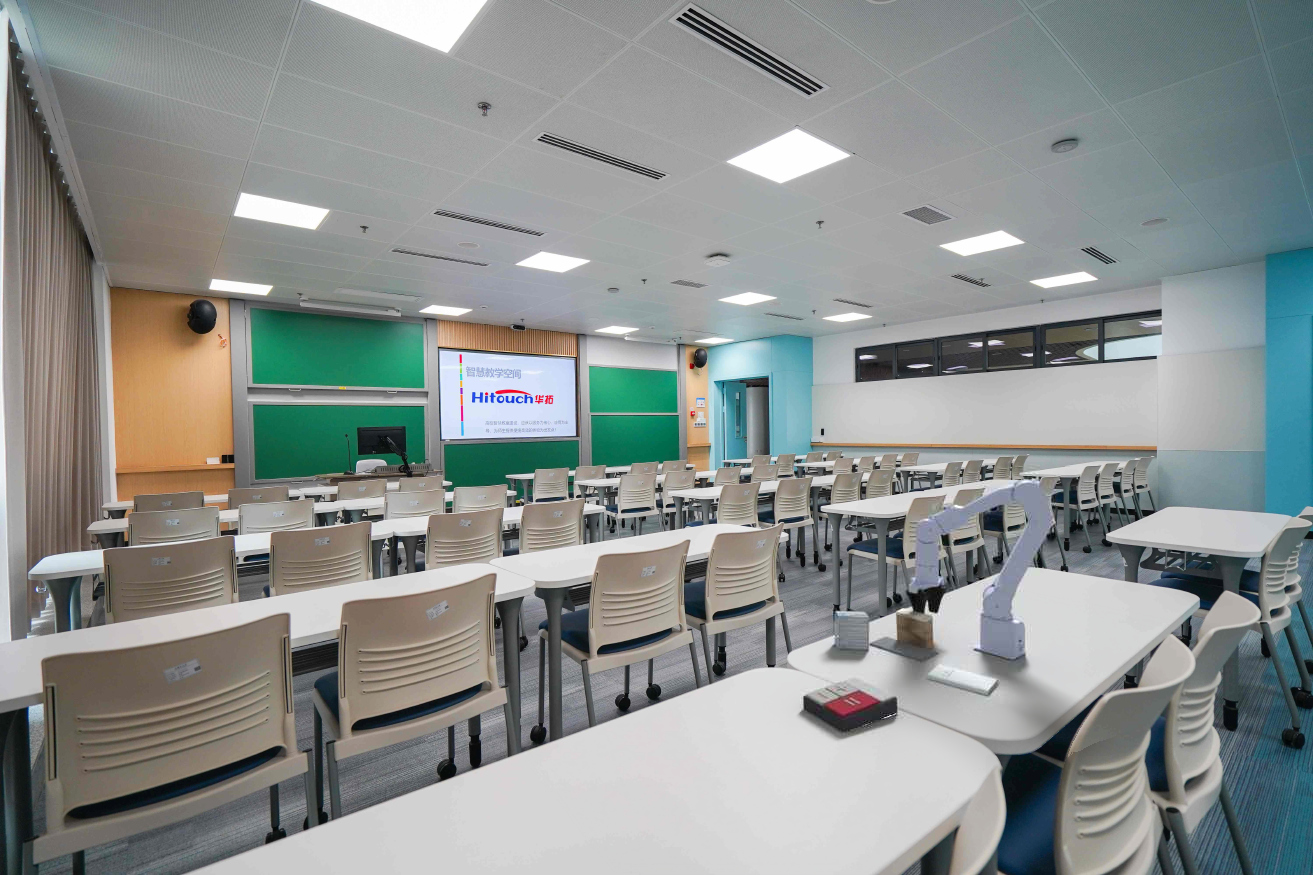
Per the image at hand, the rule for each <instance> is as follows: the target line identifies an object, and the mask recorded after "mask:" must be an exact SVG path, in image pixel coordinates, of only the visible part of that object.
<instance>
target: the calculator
mask: <svg viewBox="0 0 1313 875" xmlns="http://www.w3.org/2000/svg"><path fill="white" fill-rule="evenodd" d="M802 703H803V705H802V707H803V710H805V711H806V712H808V714H811V715H813V717H816V718H818V719H819V720H821V721H822V722H824V723H826V724H828V725H829V726H831V727H832V728H834V729H836V730H837V729H838V731H839V732H840V733H843V732H845V733H848V732H851V731H853V730H852V729H854V730H856V729H855V728H857V729H859V728H858V727H860V728H862V727H861V726H863V725H865V724H868V723H871V722H873V723H875V722H874V721H876V720H878V721H880V720H882V719H881V718H884V717H887V716H889V715H893V714H895V713H897V714H898V697H896V696H894V695H893V694H891V693H889V692H887V691H885V690H883V689H881V688H879V687H876V686H874V685H873V684H871V683H868V682H867V681H864V680H862V679H861V678H858V677H853V678H850V679H847V680H844V681H838V682H836V683H832V684H831V685H827V686H825V687H824V688H819V689H818V688H817V690H813V691H810V692H808V693H806V694H805V695H803V696H802ZM879 719H880V720H879ZM876 722H877V721H876ZM871 724H872V723H871ZM868 725H869V724H868ZM863 727H864V726H863ZM850 730H851V731H850ZM847 731H848V732H847Z"/></svg>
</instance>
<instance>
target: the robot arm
mask: <svg viewBox="0 0 1313 875" xmlns="http://www.w3.org/2000/svg"><path fill="white" fill-rule="evenodd" d="M1014 502H1015V503H1016V504H1017V505H1018V507H1020V508H1021V509H1022V510H1023V512H1024V514H1025V516H1026V518H1027V523H1026V525H1024V526H1025V527H1024V528H1023V530H1022V532H1021V534H1020V535H1019V537H1018V539H1017V540H1016V541H1017V542H1016V543H1015V544H1014V546H1013V549H1012V550H1011V552H1010V554H1009V555H1008V557H1007V559H1006V561H1005V563H1004V565H1003V566H1002V568H1001V571H1000V572H999V574H998V575H997V577H996V578H995V579H994V581H993V583H991V584H990V585H989V586H987V587H986V588H984V590H983V593H982V598H983V599H982V608H983V609H981V610H980V619H979V620H980V626H979V627H980V628H979V630H980V633H979V634H980V635H979V640H980V641H979V643H977V644H976V645H973V649H974V650H977V651H980V652H984V653H988V654H992V655H994V656H998V657H1002V658H1005V659H1009V660H1011V661H1012V660H1016V659H1017V658H1019V657H1021V656H1022V655H1025V654H1026V653H1027V651H1026V625H1025V624H1024V622H1023V621H1021V620H1018V619H1016V618H1015V617H1014V614H1013V613H1012V610H1013V604H1012V602H1013V599H1014V597H1015V596H1016V592H1017V589H1018V587H1019V586H1020V583H1021V581H1022V580H1023V578H1024V576H1025V574H1026V572H1028V569H1029V567H1030V565H1031V564H1032V562H1033V561H1034V558H1035V557H1036V554H1037V553H1038V551H1039V549H1040V547H1041V546H1042V544H1043V543H1044V540H1045V538H1046V537H1047V535H1048V534H1049V532H1050V529H1051V527H1052V526H1053V517H1052V514H1051V513H1052V512H1051V508H1050V503H1049V498H1048V497H1047V494H1046V493H1045V492H1044V490H1043V488H1042V487H1041V486H1040V485H1039V484H1038V482H1036V481H1034V480H1032V479H1026V478H1025V479H1021V480H1018V481H1016V482H1015V483H1010V484H1006V485H1004V486H1001V487H999V488H996V489H994V490H992V491H991V492H989V493H987V494H985V495H983V496H981V497H979V498H978V499H975V500H973V501H971V502H970V503H968V504H966V505H963V506H960V505H958V504H954V505H952V506H951V504H948V505H946V506H945V507H944V509H943V510H941V511H939V512H937V513H935V514H932V513H931V514H929V515H928V516H927V518H923V519H921V520H919V522H917V524H916V526H915V527H914V528H915V529H914V534H915V537H916V539H915V547H914V548H915V549H914V550H915V552H914V553H915V554H914V556H915V558H914V559H915V560H914V563H915V567H914V569H915V570H914V577H911V578H910V580H911V583H910V584H908V589H906V590H905V594H906V596H907V598H908V600H909V602H910V604H911V609H912V611H916V612H920V613H924V614H926V613H925V611H926V605H927V608H928V612H929V613H933V614H938V613H939V609H940V607H941V606H940V605H941V603H942V599H944V598H943V597H944V596H945V593H946V592H947V590H948V588H947V586H944V583H945V579H944V578H945V577H944V576H943V577H942V576H939V574H940V573H939V569H940V568H939V567H940V565H939V564H940V558H939V557H940V548H939V537H940V536H941V535H942V536H946V535H948V534H950V533H951V532H954V531H956V530H959V529H961V528H962V527H965V526H967V525H968V523H969V520H970V518H973V517H974V516H976V515H979V514H982V513H984V512H987V511H988V510H990V509H991V510H992V509H993V508H995V507H998V506H1002V505H1003V506H1015V505H1014ZM924 590H925V592H924Z"/></svg>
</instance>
